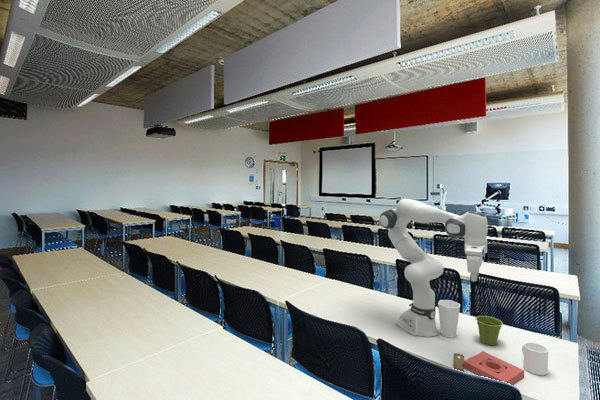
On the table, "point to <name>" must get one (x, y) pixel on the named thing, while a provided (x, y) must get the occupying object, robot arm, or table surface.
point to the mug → (535, 358)
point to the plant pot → (488, 329)
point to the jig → (493, 368)
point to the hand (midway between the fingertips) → (475, 278)
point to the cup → (448, 317)
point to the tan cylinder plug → (458, 361)
